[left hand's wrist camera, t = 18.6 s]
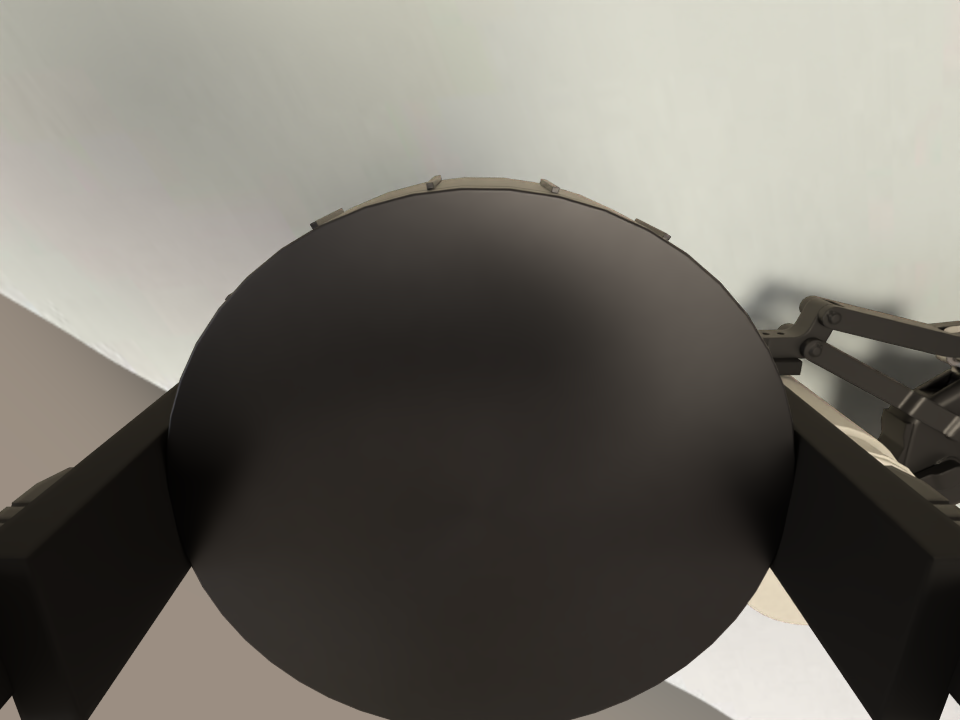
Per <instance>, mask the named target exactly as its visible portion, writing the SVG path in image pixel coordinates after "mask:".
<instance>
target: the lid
mask: <svg viewBox="0 0 960 720" xmlns="http://www.w3.org/2000/svg"><path fill="white" fill-rule="evenodd" d="M310 225H311V227H312V229H313V230H311V231H310V232H308V233H306V234H305V235H303V236H301V237H300V238H298V239H296V240H295V241H293V242H291V243H290V244H288V245H286V246H285V247H283V248H281V249H280V250H279V251H278V252H277V253H275V254H274V255H273V256H272V257H271V258H269V259H268V260H267V261H266V262H264V263H263V264H262V265H261V266H260V267H258V268H257V269H256V270H255V271H254V272H252V273H251V274H250V275H249V276H247V277H246V279H245V280H244V281H243V282H242V283H241V284H240V285H239V286H238V287H237V289H236V290H235V291H234V292H233V293H231V294H229V295H228V296H227V298H226V299H225V300H226V301H225V302H224V303H223V304H222V305H221V306H220V308H219V309H218V310H217V312H216V313H215V315H214V316H213V318H212V319H211V321H210V322H209V324H208V325H207V327H206V329H205V330H204V332H203V333H202V335H201V336H200V338H199V339H198V341H197V342H196V344H195V347H194V349H193V351H192V353H191V355H190V358H189V360H188V362H187V364H186V367H185V369H184V371H183V373H182V376H181V378H180V381H179V384H178V388H177V392H176V396H175V399H174V403H173V407H172V410H171V414H170V421H169V430H168V440H167V449H166V463H167V484H168V490H169V495H170V500H171V504H172V509H173V514H174V518H175V523H176V527H177V531H178V534H179V537H180V540H181V542H182V545H183V548H184V551H185V554H186V556H187V558H188V560H189V562H190V564H191V566H192V568H193V570H194V572H195V574H196V575H197V577H198V579H199V581H200V583H201V585H202V587H203V588H204V590H205V591H206V592H207V594H208V595H209V597H210V598H211V600H212V601H213V602H214V604H215V605H216V607H217V608H218V610H219V611H220V612H221V614H222V615H223V616H224V617H225V618H226V620H227V621H228V622H229V623H230V624H231V625H232V626H233V627H234V628H235V629H236V630H237V632H238V633H239V634H240V635H241V636H242V637H243V638H244V639H245V640H246V641H247V642H248V643H249V644H250V645H252V646H253V647H254V648H255V649H256V650H257V651H259V652H260V653H261V654H262V655H263V656H264V657H265V658H267V659H268V660H269V661H270V662H271V663H273V664H274V665H276V666H277V667H279V668H280V669H282V670H283V671H284V672H286V673H287V674H289V675H290V676H292V677H293V678H295V679H296V680H297V681H299V682H301V683H303V684H304V685H306V686H308V687H310V688H312V689H314V690H315V691H317V692H319V693H321V694H323V695H325V696H327V697H328V698H331V699H333V700H336V701H338V702H340V703H343V704H345V705H348V706H350V707H352V708H355V709H357V710H360V711H363V712H366V713H369V714H373V715H376V716H379V717H382V718H386V719H389V720H572V719H576V718H579V717H582V716H586V715H589V714H593V713H596V712H599V711H601V710H604V709H606V708H609V707H612V706H614V705H617V704H619V703H622V702H624V701H627V700H629V699H631V698H633V697H635V696H637V695H639V694H641V693H642V692H644V691H646V690H648V689H650V688H652V687H654V686H656V685H658V684H659V683H661V682H662V681H664V680H665V679H667V678H668V677H670V676H672V675H673V674H675V673H676V672H678V671H679V670H681V669H682V668H684V667H685V666H687V665H688V664H689V663H690V662H691V661H693V660H694V659H695V658H696V657H697V656H699V655H700V654H701V653H702V652H703V651H705V650H706V649H707V648H708V647H709V646H711V645H712V644H713V643H714V642H715V641H716V640H717V639H718V638H719V637H720V635H721V634H722V633H723V632H724V631H725V630H726V629H727V628H728V627H729V626H730V625H731V624H732V623H733V622H734V621H735V620H736V618H737V617H738V616H739V614H740V613H741V612H742V610H743V609H744V608H745V606H746V605H747V604H748V602H749V601H750V600H751V598H752V597H753V595H754V594H755V593H756V591H757V589H758V588H759V586H760V584H761V582H762V580H763V579H764V577H765V575H766V573H767V571H768V570H769V568H770V566H771V564H772V562H773V560H774V558H775V555H776V552H777V550H778V547H779V545H780V542H781V539H782V535H783V531H784V526H785V522H786V517H787V512H788V508H789V503H790V499H791V494H792V489H793V483H794V478H795V466H796V454H795V441H794V428H793V420H792V416H791V412H790V408H789V404H788V399H787V395H786V391H785V387H784V384H783V381H782V379H781V377H780V374H779V372H778V369H777V367H776V365H775V362H774V360H773V357H772V355H771V352H770V350H769V348H768V347H767V345H766V343H765V342H764V340H763V338H762V337H761V335H760V333H759V332H758V330H757V329H756V327H755V325H754V324H753V322H752V320H751V319H750V317H749V316H748V314H747V313H746V312H745V311H744V309H743V308H742V307H741V306H740V305H739V303H738V302H737V301H736V300H735V299H734V298H733V296H732V295H731V294H730V293H729V292H728V291H727V289H726V288H725V287H724V286H723V285H722V283H721V282H720V281H718V280H717V279H716V278H715V277H714V276H713V275H712V274H710V273H709V272H708V271H707V270H706V269H705V268H703V267H702V266H701V265H700V264H699V263H698V262H697V261H695V260H694V259H693V258H692V257H691V256H690V255H689V254H687V253H686V252H684V251H683V250H681V249H680V248H678V247H677V246H675V245H673V244H672V243H670V242H669V241H668V240H669V239H670V238H671V236H670V235H668V234H667V233H665V232H663V231H661V230H659V229H657V228H655V227H653V226H651V225H649V224H647V223H645V222H643V221H641V220H639V219H637V218H636V220H635V221H633V220H631V219H630V218H628V217H626V216H624V215H622V214H620V213H618V212H616V211H614V210H612V209H610V208H608V207H606V206H604V205H601V204H599V203H597V202H595V201H593V200H590V199H588V198H586V197H584V196H582V195H579V194H576V193H573V192H569V191H566V190H562V189H560V188H559V187H557V186H556V185H554V184H552V183H551V182H549V181H547V180H545V179H541V181H540V183H535V182H528V181H522V180H515V179H508V178H478V177H463V178H455V179H447V180H441V175H438V176H434V177H433V178H432V179H431V180H430V181H428V182H425V183H421V184H417V185H414V186H410V187H406V188H403V189H399V190H395V191H391V192H388V193H386V194H383V195H381V196H379V197H376V198H374V199H372V200H369V201H367V202H365V203H362V204H360V205H357V206H355V207H353V208H351V209H349V210H347V211H346V212H344V211H343V209H342V208H341V209H339V210H337V211H335V212H333V213H331V214H329V215H327V216H325V217H323V218H321V219H319V220H317V221H315V222H313V223H311V224H310Z"/></svg>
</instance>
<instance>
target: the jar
mask: <svg viewBox="0 0 960 720" xmlns="http://www.w3.org/2000/svg"><path fill="white" fill-rule="evenodd" d="M780 377H781V379H782V381H783V384H784V385H785V386H787V387H788V388H789V389H790V390H792V391H793V392H794V393H795V394H796V395H798V396H799V397H800V398H801V399H803V400H804V401H805V402H806V403H808V404H809V405H810V406H811V407H813V408H814V409H815V410H816V411H818V412H819V413H820V414H821V415H822V416H824V417H825V418H826V419H827V420H829V421H830V422H831V423H832V424H834V425H835V426H836V427H837V428H839V429H840V430H841V431H842V432H844V433H845V434H846V435H847V436H848V437H850V438H851V439H852V440H853V441H855V442H856V443H857V444H858V445H860V446H861V447H862V448H863V449H865V450H866V451H867V452H868V453H870V454H871V455H872V456H873V457H874V458H876V459H877V460H878V461H879V462H881V463H882V464H883V465H892V466H894V467H896V468H898V469H900V470H902V471H904V472H906V473H908V474H910V475H912V476H914V475H913V473H912V472H911V471H910V469H908V468H907V467H906V466H904V465H902V464H900V463H899V462H897V460H896V459H895V457H894V456H893V455H892V453H891V452H890V451H889V450H888V449H887V448H886V447H885V446H884V445H883V444H882V443H881V442H879V441H878V440H877V439H875V438H874V437H873V436H871V435H870V434H869V433H867V432H866V431H864V430H863V429H862V428H860V427H859V426H858V425H856V424H855V423H854V422H852V421H851V420H850V419H848V418H847V417H846V416H844V415H843V414H842V413H840V412H839V411H838V410H836V409H835V408H834V407H832V406H831V405H830V404H828V403H827V402H825V401H824V400H823V399H821V398H820V397H819V396H817V395H816V394H815V393H813V392H812V391H811V390H809V389H808V388H807V387H805V386H804V385H803V384H801V383H800V382H799V381H797V380H796V379H795V378H793V377H792V376H791V375H780ZM914 477H915V476H914ZM748 605H749V606H750V607H752V608H753V609H754V610H756V611H758V612H759V613H761V614H763V615H765V616H767V617H770V618H772V619H774V620H778V621H781V622H785V623H791V624H797V625H808V623H807V622H806V620H805V619H804V618H803V616H802V615H801V613H800V612H799V610H798V609H797V607H796V606H795V604H794V603H793V601H792V600H791V598H790V597H789V595H788V594H787V592H786V591H785V589H784V588H783V586H782V585H781V583H780V582H779V580H778V579H777V578H776V576H775V575H774V573H773V572H772V570H771V569H770V568H769V570H768V571H767V573H766V575H765V577H764V579H763V580H762V582H761V584H760V586H759V588H758V589H757V591H756V593H755V594H754V595H753V597H752V598H751V600H750V601H749V602H748Z"/></svg>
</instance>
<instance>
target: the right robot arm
mask: <svg viewBox="0 0 960 720" xmlns="http://www.w3.org/2000/svg"><path fill="white" fill-rule="evenodd" d="M799 309H800V312H801V314H800V316H799V317H798V319H797V321H796V322H795V324H794V325H793V324H790V323H787V324H783V325H781V326H780V327H779V328H778V330H758V332H759V333H760V335H761V337H762V338H763V340H764V342H765V343H766V345H767V347H768V348H769V350H770V352H771V355H772V357H773V360H774V362H775V365H776V367H777V369H778V372H779V374H780V375H800V372H801V367H802V361H801V360H799V359H798V358H806V359H807V360H809V361H811V362H812V363H814V364H816V365H818V366H820V367H822V368H824V369H826V370H827V371H829V372H831V373H833V374H835V375H837V376H839V377H840V378H842V379H844V380H846V381H848V382H850V383H852V384H853V385H855V386H857V387H859V388H861V389H863V390H865V391H866V392H868V393H870V394H872V395H874V396H876V397H878V398H879V399H881V400H883V401H885V402H887V403H889V404H891V406H890V408H889V409H884V410H883V414H882V418H881V428H882V433H881V435H880V437H879V438H878V441H879V442H881V443H882V444H883V445H884V446H885V447H886V448H887V449H888V450H889V451H890V452H891V453H892V455H893V456H894V457H895V459H896V460H897V462H899V463H900V464H902V465H904V466H906V467H907V468H908V469H910V471H911V472H912V473H913V475H914V476H915V477H916V478H918V479H920V480H922V481H924V482H926V483H927V484H928V485H930V486H931V487H932V488H934V489H935V490H936V491H937V492H939V493H940V494H941V495H943V496H944V497H945V498H947V499H948V500H949V503H950V505H956V504H958V503H960V321H952V322H943V323H933V324H926V323H922V322H918V321H914V320H910V319H906V318H901V317H897V316H893V315H889V314H885V313H881V312H877V311H873V310H869V309H865V308H861V307H857V306H853V305H849V304H845V303H841V302H837V301H833V300H829V299H825V298H821V297H817V296H809V297H806V298H805V299H803V300H802V302H801V303H800V307H799ZM832 330H836V331H841V332H845V333H849V334H853V335H857V336H861V337H865V338H869V339H873V340H877V341H882V342H886V343H890V344H894V345H898V346H902V347H906V348H910V349H914V350H918V351H923V352H927V353H931V354H935V356H936V358H937V359H939V360H941V361H943V362H945V363H947V364H949V365H951V369H949V370H946V371H944V372H943V373H941V374H939V375H937V376H936V377H934V378H932V379H931V380H929V381H927V382H925V383H924V384H922V385H920V386H919V387H917V388H915V389H914V390H912V389H910V388H909V387H907V386H905V385H903V384H901V383H899V382H898V381H896V380H894V379H892V378H890V377H888V376H887V375H885V374H883V373H881V372H879V371H877V370H875V369H874V368H872V367H870V366H868V365H866V364H864V363H863V362H861V361H859V360H857V359H855V358H853V357H852V356H850V355H848V354H846V353H844V352H843V351H841V350H839V349H837V348H835V347H833V346H832V345H830V344H828V343H826V341H827V339H828V337H829V336H830V334H831V332H832Z"/></svg>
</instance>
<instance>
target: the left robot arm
mask: <svg viewBox="0 0 960 720" xmlns="http://www.w3.org/2000/svg"><path fill="white" fill-rule="evenodd" d="M178 384H179V383H178ZM178 384H176V385H175V386H174V387H173V388H171V389H170V390H169V391H168V392H166V393H165V394H164V395H163V396H161V397H160V398H159V399H158V400H156V401H155V402H154V403H153V404H152V405H150V406H149V407H148V408H147V409H145V410H144V411H143V412H142V413H140V414H139V415H138V416H137V417H135V418H134V419H133V420H132V421H130V422H129V423H128V424H127V425H126V426H124V427H123V428H122V429H121V430H119V431H118V432H117V433H116V434H114V435H113V436H112V437H111V438H109V439H108V440H107V441H106V442H105V443H103V444H102V445H101V446H100V447H98V448H97V449H96V450H95V451H93V452H92V453H91V454H90V455H88V456H87V457H86V458H85V459H83V460H82V461H81V462H80V463H79V464H77V465H76V466H75V467H70V468H67V469H65V470H63V471H61V472H59V473H57V474H55V475H53V476H51V477H49V478H47V479H45V480H43V481H41V482H39V483H37V484H36V485H34V486H33V487H32V488H30V489H29V490H28V491H26V492H25V493H24V494H23V495H21V496H20V497H19V498H18V499H16V500H15V501H14V502H12V506H11V507H6V508H5V509H3V510H2V511H1V512H0V709H1V708H2V707H3V706H4V704H5V703H6V702H7V701H8V700H9V698H10V697H11V696H13V699H14V702H15V704H16V707H17V710H18V712H19V715H20V718H21V720H88V719H89V717H90V716H91V714H92V713H93V711H94V710H95V708H96V707H97V705H98V704H99V702H100V701H101V700H102V698H103V696H104V695H105V694H106V692H107V691H108V689H109V688H110V686H111V685H112V683H113V682H114V680H115V679H116V677H117V676H118V674H119V673H120V671H121V670H122V668H123V667H124V665H125V664H126V662H127V661H128V659H129V658H130V657H131V655H132V653H133V652H134V651H135V649H136V648H137V646H138V645H139V643H140V642H141V640H142V639H143V637H144V636H145V634H146V633H147V631H148V630H149V628H150V627H151V625H152V624H153V623H154V621H155V620H156V618H157V617H158V615H159V614H160V612H161V611H162V609H163V608H164V606H165V605H166V603H167V602H168V600H169V599H170V597H171V596H172V594H173V593H174V591H175V590H176V588H177V587H178V585H179V584H180V582H181V581H182V579H183V578H184V577H185V575H186V574H187V572H188V571H189V569H190V568H191V564H190V562H189V560H188V558H187V556H186V554H185V551H184V548H183V545H182V542H181V540H180V537H179V534H178V531H177V527H176V523H175V518H174V514H173V509H172V504H171V500H170V495H169V490H168V484H167V463H166V449H167V440H168V430H169V421H170V414H171V410H172V407H173V403H174V399H175V396H176V392H177V388H178ZM784 387H785V391H786V395H787V399H788V404H789V408H790V412H791V416H792V420H793V428H794V441H795V454H796V466H795V478H794V483H793V489H792V494H791V499H790V503H789V508H788V512H787V517H786V522H785V526H784V531H783V535H782V539H781V542H780V545H779V547H778V550H777V552H776V555H775V558H774V560H773V562H772V564H771V566H770V569H771V570H772V572H773V573H774V575H775V576H776V578H777V579H778V580H779V582H780V583H781V585H782V586H783V588H784V589H785V591H786V592H787V594H788V595H789V597H790V598H791V600H792V601H793V603H794V604H795V606H796V607H797V609H798V610H799V612H800V613H801V615H802V616H803V618H804V619H805V620H806V622H807V623H808V625H809V626H810V628H811V629H812V631H813V632H814V634H815V635H816V637H817V638H818V640H819V641H820V643H821V644H822V646H823V647H824V649H825V650H826V652H827V653H828V655H829V656H830V657H831V659H832V660H833V662H834V663H835V665H836V666H837V668H838V669H839V671H840V672H841V674H842V675H843V677H844V678H845V680H846V681H847V683H848V684H849V686H850V687H851V689H852V690H853V692H854V693H855V694H856V696H857V697H858V699H859V700H860V702H861V703H862V705H863V706H864V708H865V709H866V711H867V712H868V714H869V715H870V717H871V718H872V720H939V719H940V716H941V714H942V711H943V708H944V706H945V703H946V700H947V698H948V695H949V693H950V695H951V696H952V697H953V698H954V699H955V700H956V702H957V703H958V704H959V705H960V508H958V507H957V506H956V505H950V503H949V500H948V499H947V498H945V497H944V496H943V495H941V494H940V493H939V492H937V491H936V490H935V489H934V488H932V487H931V486H930V485H928V484H927V483H926V482H924V481H922V480H920V479H918V478H916V477H914V476H912V475H910V474H908V473H906V472H904V471H902V470H900V469H898V468H896V467H894V466H892V465H883V464H882V463H881V462H879V461H878V460H877V459H876V458H874V457H873V456H872V455H871V454H870V453H868V452H867V451H866V450H865V449H863V448H862V447H861V446H860V445H858V444H857V443H856V442H855V441H853V440H852V439H851V438H850V437H848V436H847V435H846V434H845V433H844V432H842V431H841V430H840V429H839V428H837V427H836V426H835V425H834V424H832V423H831V422H830V421H829V420H827V419H826V418H825V417H824V416H822V415H821V414H820V413H819V412H818V411H816V410H815V409H814V408H813V407H811V406H810V405H809V404H808V403H806V402H805V401H804V400H803V399H801V398H800V397H799V396H798V395H796V394H795V393H794V392H793V391H792V390H790V389H789V388H788V387H787V386H785V385H784Z"/></svg>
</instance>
